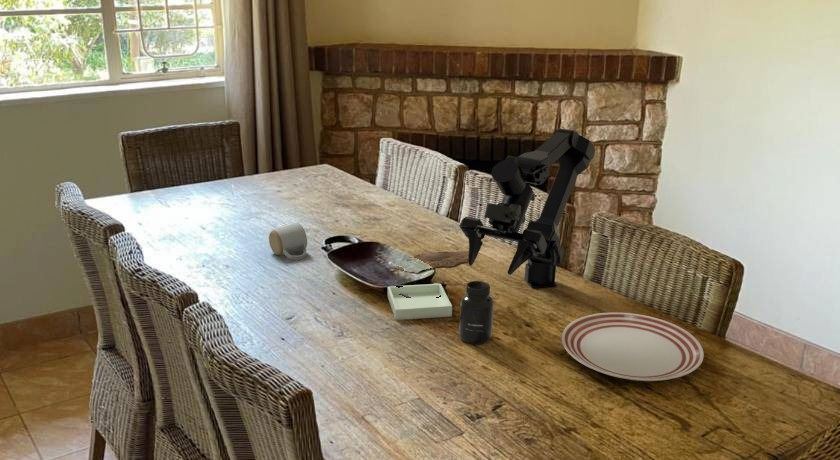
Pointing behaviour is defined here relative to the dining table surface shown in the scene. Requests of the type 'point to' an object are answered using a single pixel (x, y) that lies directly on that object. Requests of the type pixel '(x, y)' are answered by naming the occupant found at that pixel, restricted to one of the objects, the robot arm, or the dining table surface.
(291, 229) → the ceramic mug
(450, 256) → the wooden fragment
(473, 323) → the supplement bottle
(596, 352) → the dinner plate
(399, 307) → the tray
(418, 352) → the dining table surface
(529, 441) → the dining table surface
